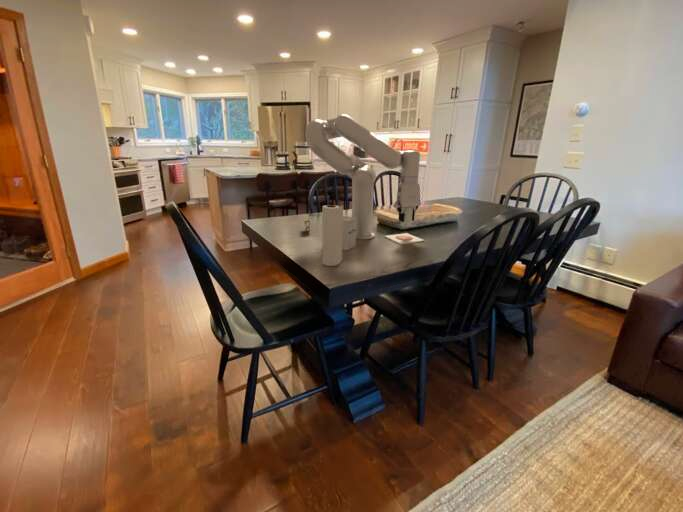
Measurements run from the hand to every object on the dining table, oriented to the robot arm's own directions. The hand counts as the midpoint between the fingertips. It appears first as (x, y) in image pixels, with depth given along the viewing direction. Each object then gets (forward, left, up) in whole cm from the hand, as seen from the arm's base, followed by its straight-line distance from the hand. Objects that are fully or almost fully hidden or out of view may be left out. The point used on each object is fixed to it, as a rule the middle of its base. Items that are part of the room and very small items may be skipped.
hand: (406, 220), depth 150 cm
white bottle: (-31, 0, -9) cm, 33 cm away
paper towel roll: (-44, -16, -9) cm, 48 cm away
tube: (0, 0, -2) cm, 2 cm away
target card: (0, 0, -9) cm, 9 cm away
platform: (-37, +29, -10) cm, 48 cm away
